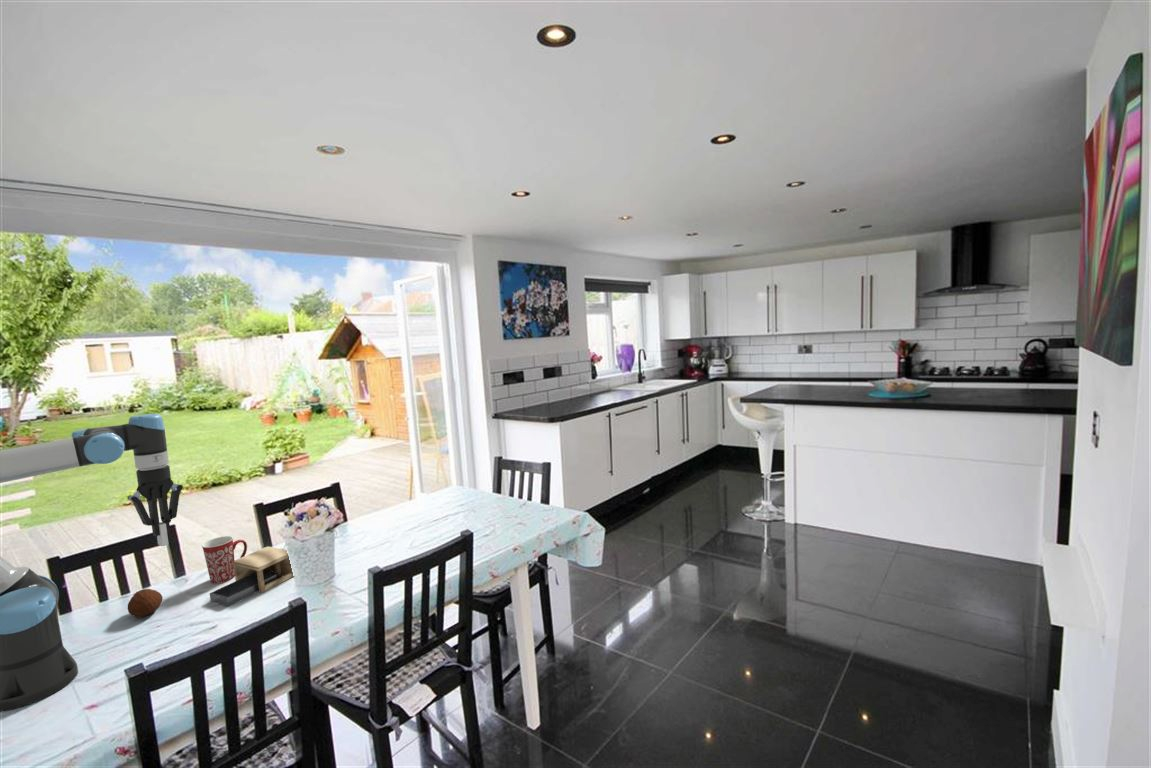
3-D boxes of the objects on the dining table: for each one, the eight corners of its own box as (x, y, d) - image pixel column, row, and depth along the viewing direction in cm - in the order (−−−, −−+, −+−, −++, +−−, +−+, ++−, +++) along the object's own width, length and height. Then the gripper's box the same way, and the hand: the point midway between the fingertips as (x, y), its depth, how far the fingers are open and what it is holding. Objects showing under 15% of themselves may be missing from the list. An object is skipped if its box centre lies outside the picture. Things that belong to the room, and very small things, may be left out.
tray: (228, 608, 157) (226, 598, 157) (210, 602, 161) (209, 593, 161) (277, 583, 171) (276, 574, 171) (260, 578, 175) (259, 570, 175)
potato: (156, 601, 163) (153, 579, 162) (170, 610, 157) (167, 587, 156) (122, 615, 155) (118, 592, 155) (136, 625, 150) (132, 601, 149)
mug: (208, 588, 170) (202, 549, 168) (205, 578, 177) (200, 541, 175) (252, 574, 178) (247, 537, 176) (248, 566, 185) (243, 530, 183)
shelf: (261, 593, 164) (258, 567, 163) (236, 585, 170) (232, 561, 169) (295, 575, 175) (292, 551, 174) (270, 569, 181) (267, 546, 180)
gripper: (131, 474, 141) (142, 555, 143) (185, 462, 152) (194, 538, 155) (118, 471, 144) (130, 551, 147) (172, 460, 156) (182, 534, 158)
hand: (163, 544), depth 151 cm, fingers closed
